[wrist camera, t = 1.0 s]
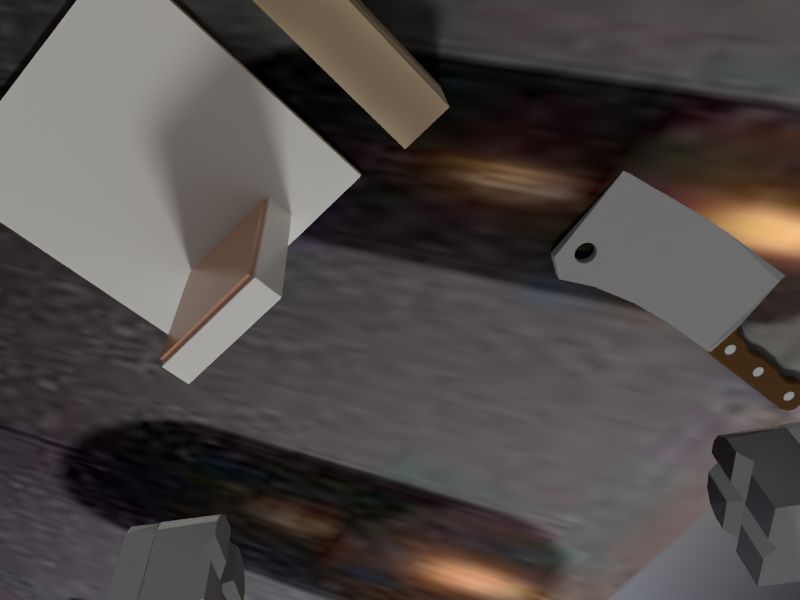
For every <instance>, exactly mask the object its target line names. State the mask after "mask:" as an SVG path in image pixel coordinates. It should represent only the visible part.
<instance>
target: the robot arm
mask: <svg viewBox="0 0 800 600" xmlns="http://www.w3.org/2000/svg"><path fill="white" fill-rule="evenodd" d="M712 454H713V455H714V457H715V459H716V460H717V462H718V463H717V464H716V465H715V466H714V467H713V468H712V469H711V470H710V471H709V475H708V485H707V488H708V494H709V499H710V504H711V506H712V509H713V511H714V514H715V516H716V518H717V520H718V521H719V523H720V525H721V527H722V528H723V529H724V530H726V531H728V532H729V533H731V534H732V535H734V536H736V537H737V538H739V539H738V544H737V550H736V552H737V553H738V555H739V557H740V559H741V560H742V562H743V563H744V565H745V567H746V568H747V570H748V572H749V573H750V575H751V577H752V579H753V580H754V582H755V584H756V585H757V586H766V585H774V584H781V583H789V582H796V581H800V422H796V423H790V424H784V425H779V426H770V427H764V428H758V429H753V430H747V431H741V432H735V433H729V434H723V435H718V436H717V438H716V439H715V440H714V443H713V449H712ZM230 531H231V528H230V526H229V523H228V521H227V519H226V517H225V515H214V516H206V517H199V518H191V519H183V520H176V521H168V522H161V523H157V524H149V525H142V526H135V527H131V528H130V529H129V530H128V532H127V533H126V535H125V536H124V539H123V542H122V546H121V549H120V552H119V556H118V559H117V562H116V566H115V569H114V572H113V576H112V579H111V582H110V585H109V589H108V592H107V595H106V599H105V600H244V592H245V581H244V567H243V563H242V558H241V555H240V552H239V549H238V547H237V546H236V545H234V544H232V543H231V542H229V538H230Z"/></svg>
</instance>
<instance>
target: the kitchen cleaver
mask: <svg viewBox="0 0 800 600" xmlns="http://www.w3.org/2000/svg"><path fill="white" fill-rule="evenodd" d="M587 242H589V243H592V244H594V251H593V253H592V254H591V255H590V256H589V257H588V258H586V259H577V258H575V251H576V249H577V248H578V246H580V245H581V244H583V243H587ZM551 256H552V260H553V265H554V269H555V274H556V275H557V277H558V278H559V279H562V280H566V281H571V282H576V283H580V284H585V285H589V286H594V287H597V288H599V289H601V290H604V291H606V292H609V293H611V294H613V295H616V296H618V297H621V298H623V299H625V300H628V301H630V302H633V303H635V304H637V305H638V306H640V307H642V308H643V309H645V310H647V311H649V312H650V313H652V314H654V315H656V316H657V317H659V318H661V319H663V320H664V321H666V322H667V323H669V324H670V325H672V326H673V327H674V328H676V329H677V330H679V331H680V332H681V333H683V334H684V335H686V336H687V337H688V338H690V339H691V340H693V341H694V342H696V343H697V344H698V345H700V346H701V347H703V348H704V349H705V350H707V351H708V353H709V354H710V355H712V356H713V357H714V358H715V359H717V360H718V361H719V362H721V363H722V364H723V365H724V366H726V367H727V368H728V369H730V370H731V371H732V372H733V373H735V374H736V375H737V376H739V377H740V378H741V379H743V380H744V381H745V382H746V383H748V384H749V385H750V386H752V387H753V388H754V389H755V390H757V391H758V392H759V393H761V394H762V395H763V396H764V397H766V398H767V399H768V400H770V401H771V402H772V403H774V404H775V405H776V406H777V407H779V408H780V409H783V410H787V411H788V410H792V409H795V408H797V407H798V406H799V405H800V381H799V380H798V379H796V378H795V377H792V376H784V375H781V374H780V373H779V371H778V369H777V368H776V367H775V366H774V365H773V364H772V363H771V362H770V361H769V360H767V359H766V358H765V357H764V356H762V355H761V354H760V353H759V352H757V351H754V350H752V349H749V348H748V347H747V346H746V343H745V340H744V338H743V337H742V336H741V335H740V334H739V333H738V332H737V329H738V327H739V326H740V325H741V323H742V322H743V321H744V320H745V319H746V318H747V317H748V316H749V315H750V313H751V312H752V311H753V310H754V309H755V308H756V307H757V306H758V305H759V303H760V302H761V301H762V300H763V299H764V298H765V297H766V296H767V295H768V293H769V292H770V291H771V290H772V289H773V288H774V287H775V286H776V285H777V284H778V282H779V281H780V280H781V279H782V278H783V277H784V276H785V275H784V274H782V273H781V272H780V271H778V270H777V269H776V268H774V267H773V266H772V265H770V264H769V263H768V262H766V261H765V260H764V259H762V258H761V257H760V256H758V255H757V254H756V253H754V252H753V251H752V250H750V249H749V248H748V247H746V246H745V245H744V244H742V243H741V242H739V241H738V240H737V239H735V238H734V237H733V236H731V235H730V234H729V233H727V232H726V231H724V230H723V229H721V228H720V227H718V226H717V225H715V224H714V223H712V222H711V221H709V220H708V219H706V218H704V217H703V216H701V215H699V214H698V213H696V212H694V211H692V210H691V209H689V208H687V207H686V206H684V205H682V204H681V203H679V202H677V201H676V200H674V199H672V198H670V197H669V196H667V195H665V194H664V193H662V192H660V191H658V190H656V189H655V188H653V187H651V186H650V185H648V184H646V183H644V182H643V181H641V180H639V179H638V178H636V177H634V176H633V175H632V174H629V173H627V172H625V171H623V172H622V173H621V174H620V175H619V177H618V178H617V179H616V180H615V181H614V182H613V183H612V184H611V186H610V187H609V188H608V189H607V190H606V191H605V192H604V194H603V195H602V196H601V197H600V198H599V199H598V200H597V201H596V203H595V204H594V205H593V206H592V207H591V208H590V209H589V210H588V212H587V213H586V214H585V215H584V216H583V217H582V218H581V219H580V221H579V222H578V223H577V224H576V225H575V226H574V227H573V229H572V230H571V231H570V232H569V233H568V234H567V235H566V236H565V238H564V239H563V240H562V241H561V242H560V243H559V244H558V245H557V247H556V248H555V249H554V250H553V251H552V252H551Z"/></svg>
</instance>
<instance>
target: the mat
mask: <svg viewBox="0 0 800 600" xmlns="http://www.w3.org/2000/svg"><path fill="white" fill-rule="evenodd" d="M360 176H361V173H360V172H359V171H358V170H357V169H356V168H355V167H354V166H353V165H351V164H350V163H349V162H348V161H347V160H346V159H345V158H344V157H343V156H342V155H341V154H339V153H338V152H337V151H336V150H335V149H334V148H333V147H332V146H331V145H330V144H329V143H327V142H326V141H325V140H324V139H323V138H322V137H321V136H320V135H319V134H318V133H317V132H316V131H314V130H313V129H312V128H311V127H310V126H309V125H308V124H307V123H306V122H305V121H304V120H302V119H301V118H300V117H299V116H298V115H297V114H296V113H295V112H294V111H293V110H292V109H290V108H289V107H288V106H287V105H286V104H285V103H284V102H283V101H282V100H281V99H280V98H279V97H277V96H276V95H275V94H274V93H273V92H272V91H271V90H270V89H269V88H268V87H267V86H265V85H264V84H263V83H262V82H261V81H260V80H259V79H258V78H257V77H256V76H255V75H253V74H252V73H251V72H250V71H249V70H248V69H247V68H246V67H245V66H244V65H243V64H241V63H240V62H239V61H238V60H237V59H236V58H235V57H234V56H233V55H232V54H231V53H230V52H228V51H227V50H226V49H225V48H224V47H223V46H222V45H221V44H220V43H219V42H218V41H216V40H215V39H214V38H213V37H212V36H211V35H210V34H209V33H208V32H207V31H206V30H204V29H203V28H202V27H201V26H200V25H199V24H198V23H197V22H196V21H195V20H194V19H193V18H191V17H190V16H189V15H188V14H187V13H186V12H185V11H184V10H183V9H182V8H181V7H179V6H178V5H177V4H176V3H175V2H174V1H173V0H76V2H75V3H74V4H73V6H72V7H71V8H70V10H69V11H68V12H67V14H66V15H65V16H64V18H63V19H62V20H61V22H60V23H59V24H58V26H57V27H56V28H55V30H54V31H53V32H52V33H51V35H50V36H49V37H48V39H47V40H46V41H45V43H44V44H43V45H42V47H41V48H40V49H39V51H38V52H37V53H36V55H35V56H34V57H33V59H32V60H31V61H30V63H29V64H28V65H27V67H26V68H25V69H24V70H23V72H22V73H21V74H20V76H19V77H18V78H17V80H16V81H15V82H14V84H13V85H12V86H11V88H10V89H9V90H8V92H7V93H6V94H5V96H4V97H3V98H2V100H1V101H0V222H1V223H3V224H4V225H6V226H7V227H9V228H10V229H12V230H13V231H15V232H16V233H18V234H19V235H21V236H22V237H24V238H25V239H27V240H28V241H30V242H31V243H32V244H34V245H35V246H37V247H38V248H40V249H41V250H43V251H44V252H46V253H47V254H49V255H50V256H52V257H53V258H55V259H56V260H58V261H59V262H61V263H62V264H64V265H65V266H67V267H68V268H70V269H71V270H73V271H74V272H76V273H77V274H79V275H80V276H82V277H83V278H85V279H86V280H88V281H89V282H91V283H92V284H94V285H95V286H97V287H98V288H100V289H101V290H103V291H104V292H106V293H107V294H109V295H110V296H112V297H113V298H115V299H116V300H117V301H119V302H120V303H122V304H123V305H125V306H126V307H128V308H129V309H131V310H132V311H134V312H135V313H137V314H138V315H140V316H141V317H143V318H144V319H146V320H147V321H149V322H150V323H152V324H153V325H155V326H156V327H158V328H159V329H161V330H162V331H164V332H165V333H167V334H169V331H170V329H171V326H172V323H173V320H174V317H175V314H176V311H177V308H178V305H179V302H180V299H181V297H182V294H183V291H184V288H185V285H186V282H187V279H188V276H189V273H190V272H191V271H192V270H193V269H194V268H195V267H196V266H197V265H198V264H199V263H200V262H201V261H202V260H203V259H204V258H205V257H206V256H207V255H208V254H209V253H210V252H211V251H212V250H213V249H214V248H215V247H216V246H217V245H218V244H219V243H220V242H221V241H222V240H223V239H224V238H225V237H226V236H227V235H228V234H229V233H230V232H231V231H232V230H233V229H234V228H235V227H236V226H237V225H238V224H239V223H240V221H241V220H242V219H243V218H244V217H245V216H246V215H247V214H248V213H249V212H250V211H251V210H252V209H253V208H254V207H255V206H256V205H257V204H258V203H259V202H260V201H261V200H262V199H264V200H265V201H266V200H267V199H268V198H269V197H271V198H272V199H273V200H274V201H275V202H277V203H278V204H279V205H280V206H281V207H283V208H284V209H285V210H286V211H287V212H289V213H290V214H291V222H290V231H289V239H288V246H289V245H290V244H291V243H292V242H293V241H294V240H295V239H296V238H297V237H298V236H299V235H300V234H301V233H302V232H303V231H304V230H305V229H306V228H307V227H308V226H309V225H310V224H311V223H313V222H314V221H315V220H316V219H317V218H318V217H319V216H320V215H321V214H322V213H323V212H324V211H325V210H326V209H327V208H328V207H329V206H330V205H331V204H332V203H333V202H334V201H335V200H336V199H337V198H339V197H340V196H341V195H342V194H343V193H344V192H345V191H346V190H347V189H348V188H349V187H350V186H351V185H352V184H353V183H354V182H355V181H356V180H357V179H358V178H359V177H360Z"/></svg>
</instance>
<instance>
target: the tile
mask: <svg viewBox="0 0 800 600" xmlns="http://www.w3.org/2000/svg"><path fill="white" fill-rule="evenodd" d="M290 222H291V214H290V213H289V212H287V211H286V210H285V209H284V208H283V207H281V206H280V205H279V204H278V203H277V202H275V201H274V200H273V199H272V198H271V197H269V198H268V199H267V200H266V201H265V200H264V199H262V200H261V201H260V202H259V203H258V204H257V205H256V206H255V207H254V208H253V209H252V210H251V211H250V212H249V213H248V214H247V215H246V216H245V217H244V218H243V219H242V220H241V221H240V223H239V224H238V225H237V226H236V227H235V228H234V229H233V230H232V231H231V232H230V233H229V234H228V235H227V236H226V237H225V238H224V239H223V240H222V241H221V242H220V243H219V244H218V245H217V246H216V247H215V248H214V249H213V250H212V251H211V252H210V253H209V254H208V255H207V256H206V257H205V258H204V259H203V260H202V261H201V262H200V263H199V264H198V265H197V266H196V267H195V268H194V269H193V270H192V271H191V272H190V273H189V276H188V279H187V282H186V285H185V288H184V291H183V294H182V297H181V299H180V302H179V305H178V308H177V311H176V314H175V317H174V320H173V323H172V326H171V329H170V331H169V334H168V337H167V340H166V343H165V346H164V349H163V352H162V355H161V358H160V359H161V360H163V361H164V362H163V365H162V367H163V368H164V369H166V370H167V371H169V372H171V373H172V374H174V375H175V376H177V377H178V378H180V379H181V380H183V381H185V382H186V383H188V384H189V383H190V382H192V381H193V380H194V379H195V378H196V377H197V376H198V375H199V374H200V373H201V372H202V371H203V370H204V369H206V368H207V367H208V366H209V365H210V364H211V363H212V362H213V361H214V360H215V359H216V358H217V357H218V356H219V355H221V354H222V353H223V352H224V351H225V350H226V349H227V348H228V347H229V346H230V345H231V344H232V343H233V342H235V341H236V340H237V339H238V338H239V337H240V336H241V335H242V334H243V333H244V332H245V331H246V330H247V329H248V328H250V327H251V326H252V325H253V324H254V323H255V322H256V321H257V320H258V319H259V318H260V317H261V316H262V315H264V314H265V313H266V312H267V311H268V310H269V309H270V308H271V307H272V306H273V305H274V304H275V303H276V302H277V301H279V300H280V299H281V298H282V291H283V282H284V274H285V265H286V256H287V248H288V239H289V231H290Z"/></svg>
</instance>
